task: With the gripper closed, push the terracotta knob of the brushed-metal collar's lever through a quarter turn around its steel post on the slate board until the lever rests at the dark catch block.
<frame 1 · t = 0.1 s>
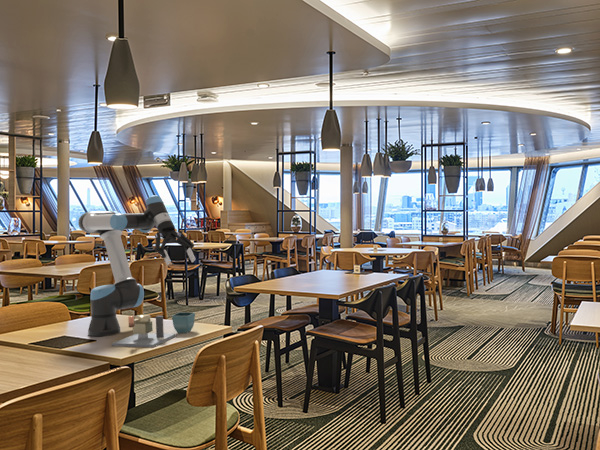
hand: (181, 262, 253), 36 cm above the table, tool tilted 35°, fingers open, 13 cm apart
bayonet post: (143, 340, 256), on the table
flower pot: (184, 332, 273), on the table
collar: (138, 324, 252), point 9 cm above the table, hinge at 0.0°
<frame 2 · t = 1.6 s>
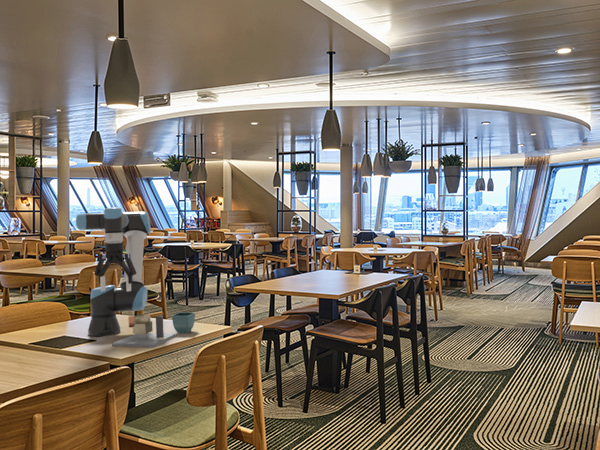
hand: (116, 291, 248), 24 cm above the table, tool pointing down, fingers open, 12 cm apart
nothing on the table moved.
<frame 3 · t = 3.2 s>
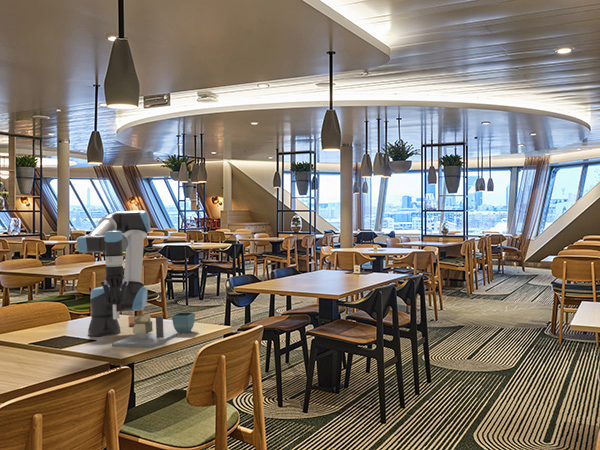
hand: (116, 318, 247), 12 cm above the table, tool pointing down, fingers closed
nothing on the table moved.
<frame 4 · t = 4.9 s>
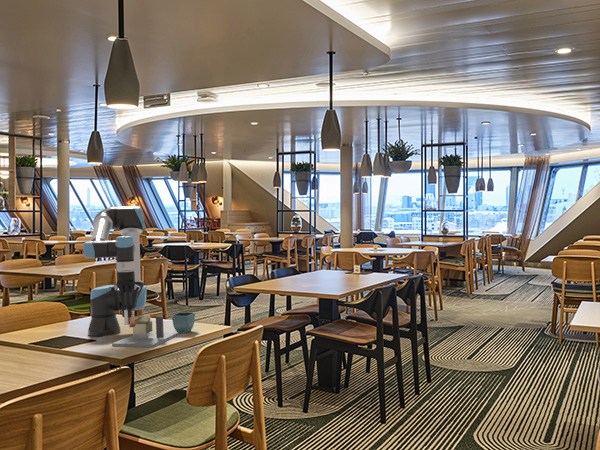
hand: (127, 324, 246), 10 cm above the table, tool pointing down, fingers closed
collar: (138, 324, 252), point 9 cm above the table, hinge at 2.0°, touching gripper
everything else where it was.
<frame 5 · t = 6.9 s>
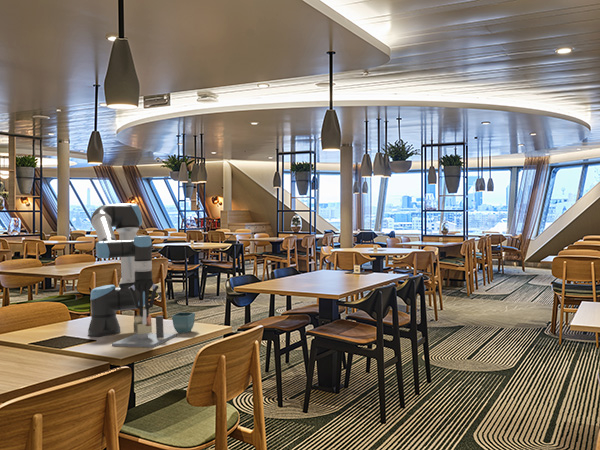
hand: (144, 323, 246), 10 cm above the table, tool pointing down, fingers closed
collar: (144, 323, 253), point 9 cm above the table, hinge at 45.3°, touching gripper
everything else where it was.
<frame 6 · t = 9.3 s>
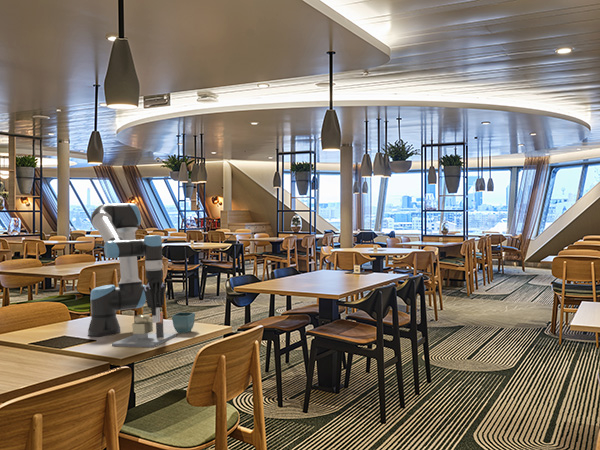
hand: (156, 322, 249), 10 cm above the table, tool pointing down, fingers closed
collar: (149, 322, 255), point 8 cm above the table, hinge at 83.9°
everything else where it was.
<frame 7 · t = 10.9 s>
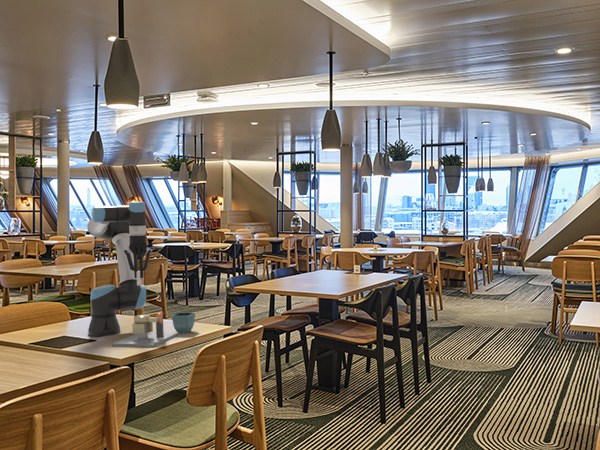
hand: (139, 284, 261), 25 cm above the table, tool pointing down, fingers closed
collar: (148, 322, 255), point 8 cm above the table, hinge at 82.7°
everything else where it was.
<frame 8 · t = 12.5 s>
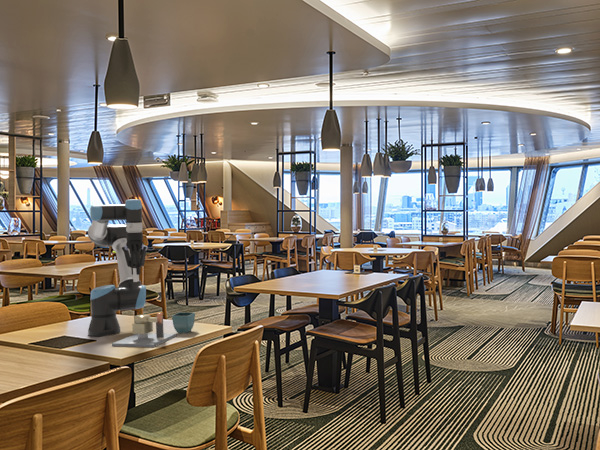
hand: (136, 281, 265), 26 cm above the table, tool pointing down, fingers closed
nothing on the table moved.
at the end: collar at +83° (first picture: +0°); collar touching nothing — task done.
